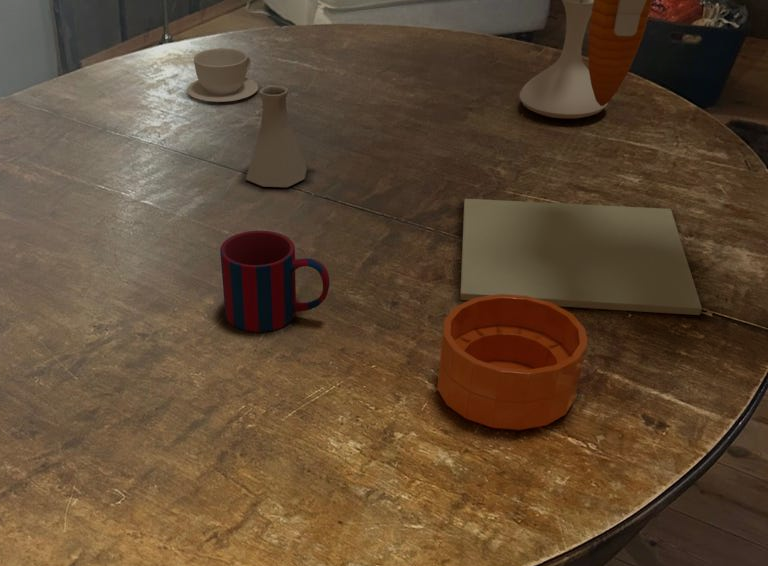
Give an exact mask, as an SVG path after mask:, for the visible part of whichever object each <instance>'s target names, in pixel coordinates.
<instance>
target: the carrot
mask: <svg viewBox="0 0 768 566" xmlns="http://www.w3.org/2000/svg"><path fill="white" fill-rule="evenodd" d="M653 2H654V0H647V1H646V3H645V6H644V8H643V10H642V13H641V15H640V19H639V24H638V28H637V32H636V33H635V34H634V35H633V36H617V35H616V34H615V32H614V28H613V22H614V18H615V12H616V8H618V4H619V0H594V2H593V8H592V14H591V16H590V25H589V32H588V70H589V74H590V80H591V85H592V89H593V92H594V95H595V99H596V101H597V102H598V104H599V105H600V106H604V105H605V104H607V103H608V104H609V103H610V101H611V100H612V98H613V97H614V96H615V95H616V93H617V91H618V90H619V89H620V87H621V85H622V84H623V82H624V80H625V79H626V77H627V75H628V73H629V71H630V70H631V67H632V64H633V62H634V60H635V57H636V56H637V53H638V50H639V48H640V44H641V42H642V40H643V36H644V35H645V31H646V28H647V24H648V21H649V17H650V14H651V9H652V6H653ZM608 104H607V105H608Z"/></svg>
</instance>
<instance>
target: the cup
mask: <svg viewBox="0 0 768 566" xmlns="http://www.w3.org/2000/svg"><path fill="white" fill-rule="evenodd" d="M219 251H220V265H221V276H222V277H221V279H222V289H223V290H222V292H223V303H224V314H225V315H224V316H225V318H226V320H227V321H228V323H229V324H231V325H232V326H233V327H235V328H237V329H239V330H242V331H246V332H252V333H264V332H265V333H266V332H271V331H276V330H279V329H281V328H283V327H285V326H287V325H289V323H291V322H292V321H293V320H294V318H295V317H296V314H297V313H300V312H306V311H310V310H313V309H315V308H317V307H318V306H320V305H321V304H322V303H323V302H324V301H325V300H326V298H327V296H328V293H329V289H330V276H329V275H330V274H329V272H328V269H327V268H326V267H325V265H324V264H323V263H322V262H321V261H319V260H317V259H313V258H307V257H305V258H298V259H296V247H295V243H294V242H293V240H292V239H291V238H289V236H286V235H284V234H282V233H279V232H276V231H271V230H249V231H244V232H243V231H242V232H240V233H236V234H234V235H232V236H230V237H228V238H227V239H226V240H225V241H223V243H221V246H220V249H219ZM302 267H309V268H312V269H314V270H316V271H317V272H318V273H319V275H320V277H321V281H322V290H321V291H322V292H321V294H320V295H319V297H318V298H316V299H313V300H311V301H305V302H299V301H297V286H296V285H297V283H296V282H297V281H296V270H297V269H300V268H302Z"/></svg>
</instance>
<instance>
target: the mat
mask: <svg viewBox="0 0 768 566" xmlns="http://www.w3.org/2000/svg"><path fill="white" fill-rule="evenodd" d="M462 214H463V215H462V216H463V217H462V219H463V220H462V240H461V242H462V243H461V262H460V263H461V266H460V290H459V300H460V301H469V300H471V299H474V298H478V297H484V296H491V295H497V294H507V295H522V296H529V297H533V298H536V299H540V300H544V301H547V302H551V303H553V304H555V305H557V306H559V307H561V308H563V307H564V308H580V309H594V310H595V309H597V310H612V311H626V312H627V311H628V312H642V313H656V314H657V313H659V314H673V315H689V316H691V315H692V316H700V315H701V313H702V310H703V306H702V304H701V300H700V297H699V294H698V292H697V288H696V285H695V281H694V279H693V276H692V272H691V269H690V267H689V266H690V265H689V262H688V259H687V256H686V253H685V249H684V246H683V243H682V240H681V237H680V234H679V230H678V227H677V223H676V221H675V218H674V214H673V212H672V209H671V208H663V207H661V208H659V207H642V206H641V207H640V206H621V205H603V204H602V205H601V204H584V203H583V204H582V203H581V204H580V203H563V202H562V203H561V202H560V203H558V202H542V201H541V202H539V201H523V200H522V201H521V200H520V201H519V200H504V199H503V200H500V199H499V200H498V199H481V198H464V200H463V213H462Z"/></svg>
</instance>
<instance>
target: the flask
mask: <svg viewBox="0 0 768 566" xmlns="http://www.w3.org/2000/svg"><path fill="white" fill-rule="evenodd" d="M288 94H289V87H286V86H283V85H276V84H275V85H273V84H272V85H271V84H268V85H266V86H264V87H261V88H260V90H259V98H260V99H261V100H262V101H261V102H262V111H261V113H262V114H261V121H260V128H259V131H258V136H257V139H256V143H255V146H254V150H253V154H252V156H251V160H250V163H249V167H248V169H247V173H246V177H245V180H246V181H248V182H251V183H253V184H256V185H258V186H261V187H265V188H268V187H270V188H290V187H291V186H294V185H295V184H298V183H299V182H301V181H304V180H305V178H306V174H307V170H308V167H307V165H306V162H305V160H304V157H303V155H302V152H301V150H300V147H299V145H298V142H297V140H296V137H295V133H294V132H293V129H292V127H291V123H290V119H289V114H288V109H287V97H288Z"/></svg>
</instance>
